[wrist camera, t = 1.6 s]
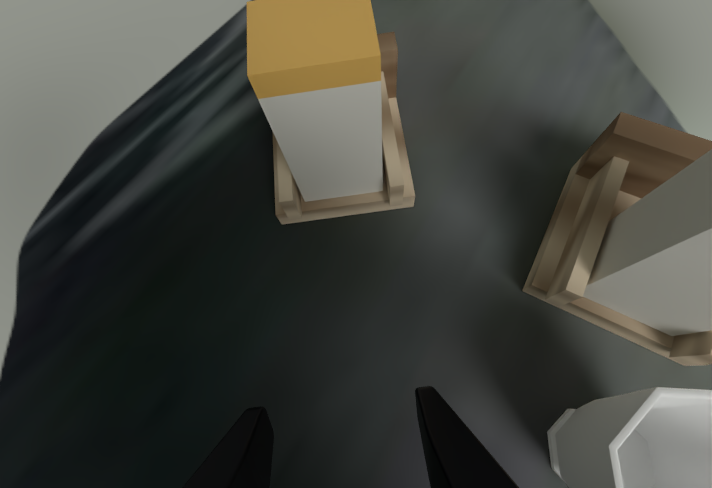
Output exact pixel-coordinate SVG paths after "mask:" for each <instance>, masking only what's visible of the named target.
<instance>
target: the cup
mask: <svg viewBox="0 0 712 488" xmlns="http://www.w3.org/2000/svg"><path fill="white" fill-rule="evenodd" d="M547 435H548V444H549V452H550V461H551V469H552V470H553V471H554V472H555V473H556V474H557V475H558V476H559V477H560V478H561V479H562V480H563V481H564V482H565V483H566V485H567V486H568V488H712V390H699V389H682V388H664V387H655V388H650V389H645V390H640V391H635V392H631V393H627V394H623V395H618V396H613V397H607V398H602V399H597V400H593V401H591V402H589V403H587V404H585V405H583V406H581V407H579V408H577V409H567V410H566V411H565V412H564V413H563V414H562V415H561V416H560V418H559V419H558V420H557V421H556V422H555V423H554V424H553V426H552V427H551V428H550V429H549V430H548V431H547Z"/></svg>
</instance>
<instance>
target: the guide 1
mask: <svg viewBox="0 0 712 488" xmlns="http://www.w3.org/2000/svg"><path fill="white" fill-rule="evenodd" d="M377 38H378V43H379V48H380V54H381V104H382V172H383V191H380V192H373V193H365V194H358V195H351V196H344V197H336V198H329V199H322V200H315V201H307V202H305V201H304V199H303V197H302V194H301V192H300V190H299V188H298V186H297V183H296V181H295V179H294V177H293V175H292V173H291V170H290V168H289V166H288V164H287V162H286V159H285V157H284V155H283V153H282V151H281V148H280V146H279V144H278V142H277V140H276V137H275V135H274V133H273V157H274V184H275V212H276V216H277V218H278V219H279V221H280V222H281V224H289V223H297V222H304V221H311V220H319V219H326V218H333V217H341V216H348V215H355V214H363V213H370V212H377V211H385V210H392V209H399V208H407V207H414V200H415V192H414V187H413V182H412V177H411V172H410V167H409V162H408V156H407V151H406V146H405V141H404V136H403V131H402V126H401V121H400V115H399V110H398V105H397V100H396V83H397V56H398V48H397V43H396V39H395V34H394V32H389V33H383V34H377Z"/></svg>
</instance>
